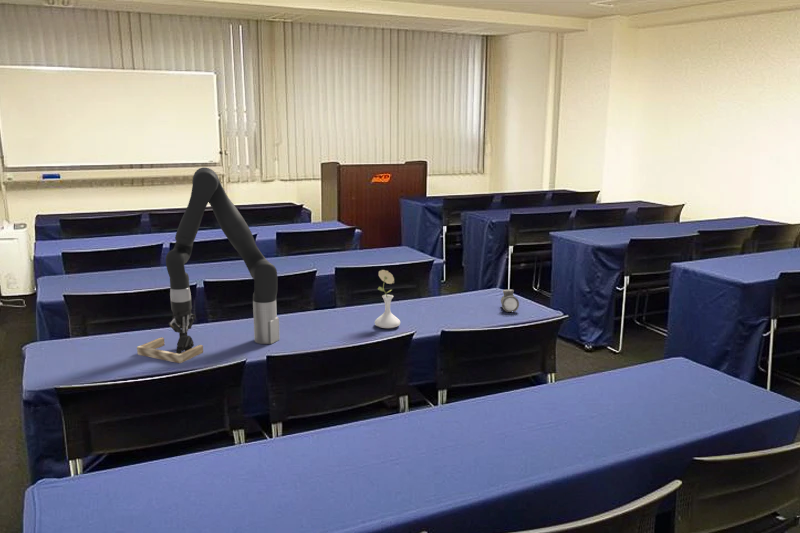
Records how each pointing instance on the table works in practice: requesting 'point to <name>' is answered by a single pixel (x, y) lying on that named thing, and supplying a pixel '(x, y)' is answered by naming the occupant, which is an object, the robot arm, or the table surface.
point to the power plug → (184, 344)
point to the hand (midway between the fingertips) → (183, 341)
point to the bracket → (151, 351)
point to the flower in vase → (387, 304)
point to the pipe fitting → (509, 301)
